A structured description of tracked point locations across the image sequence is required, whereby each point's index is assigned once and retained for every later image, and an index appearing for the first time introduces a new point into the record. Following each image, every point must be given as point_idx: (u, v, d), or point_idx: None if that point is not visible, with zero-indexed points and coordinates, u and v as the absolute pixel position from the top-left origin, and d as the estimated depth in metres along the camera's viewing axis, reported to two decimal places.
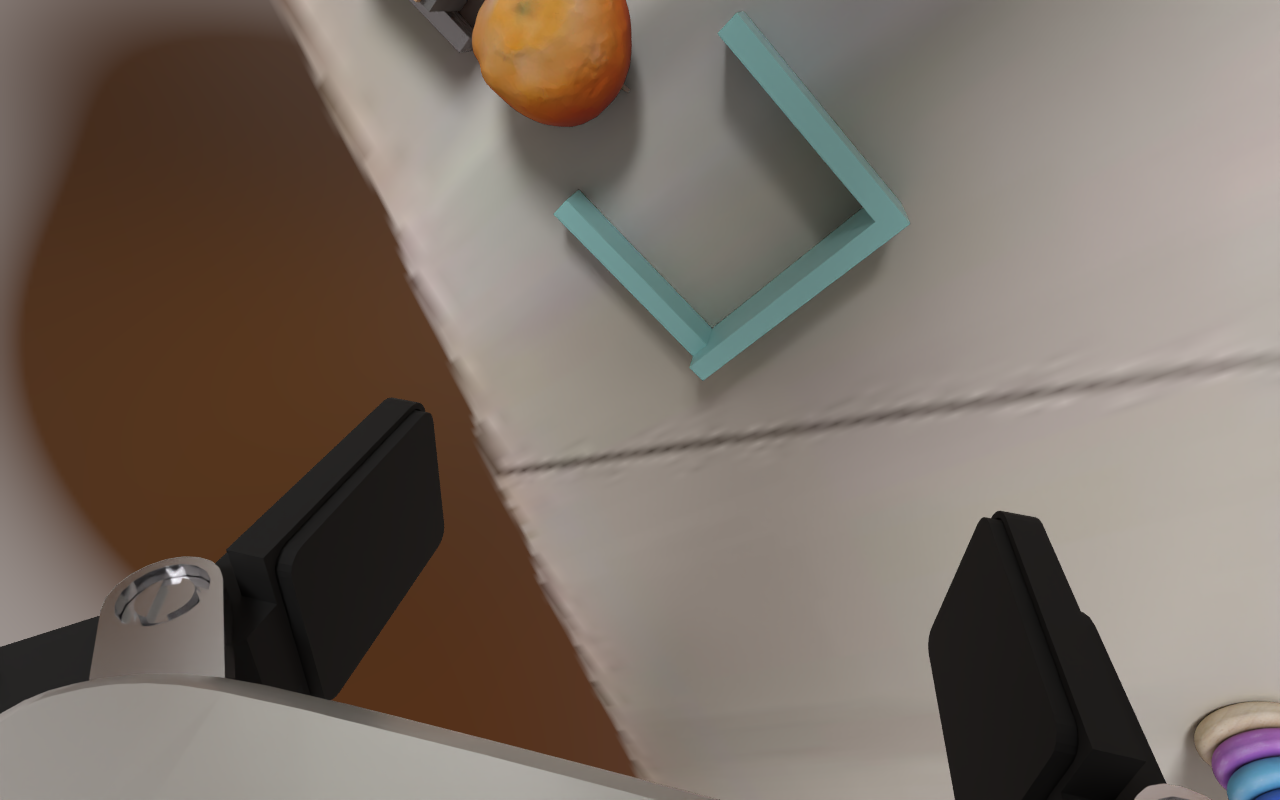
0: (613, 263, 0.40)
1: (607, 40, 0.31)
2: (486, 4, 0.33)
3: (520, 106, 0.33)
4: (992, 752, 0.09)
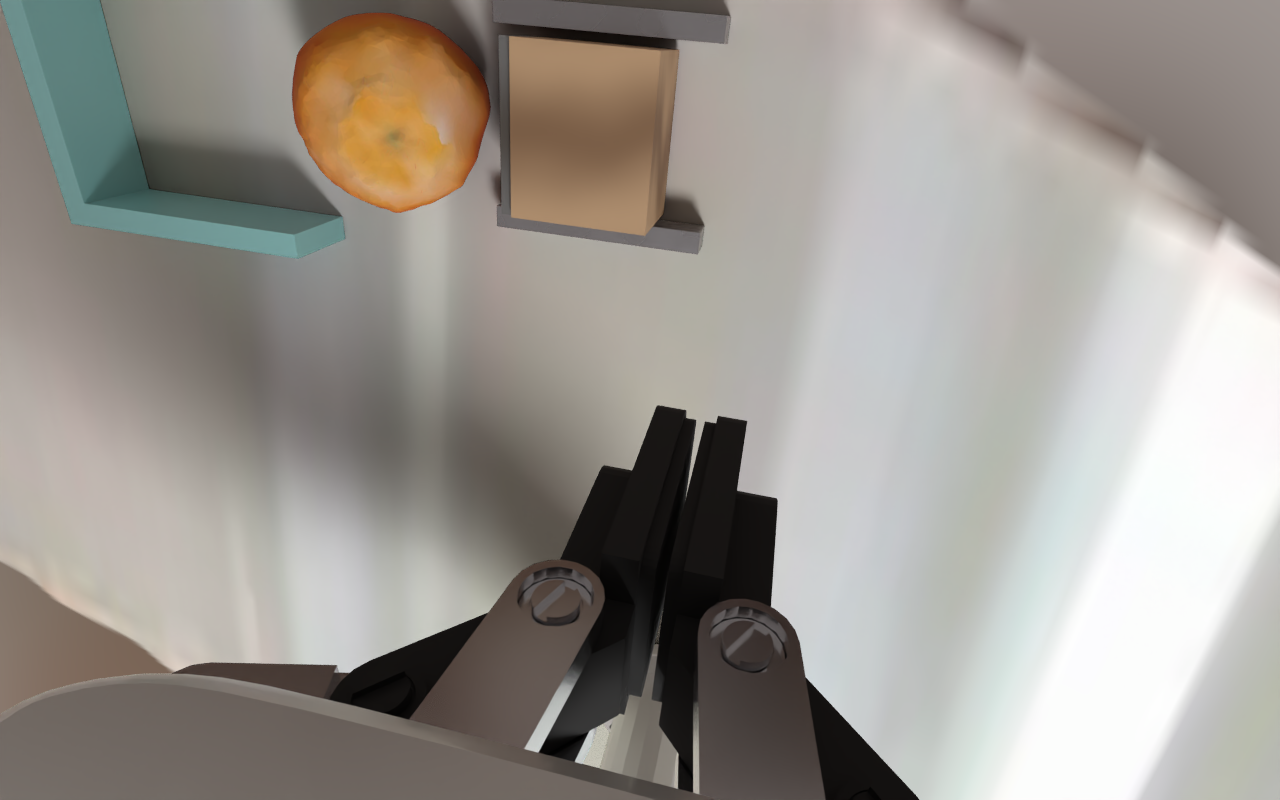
0: None
1: (323, 171, 0.29)
2: (446, 100, 0.28)
3: (324, 40, 0.26)
4: None
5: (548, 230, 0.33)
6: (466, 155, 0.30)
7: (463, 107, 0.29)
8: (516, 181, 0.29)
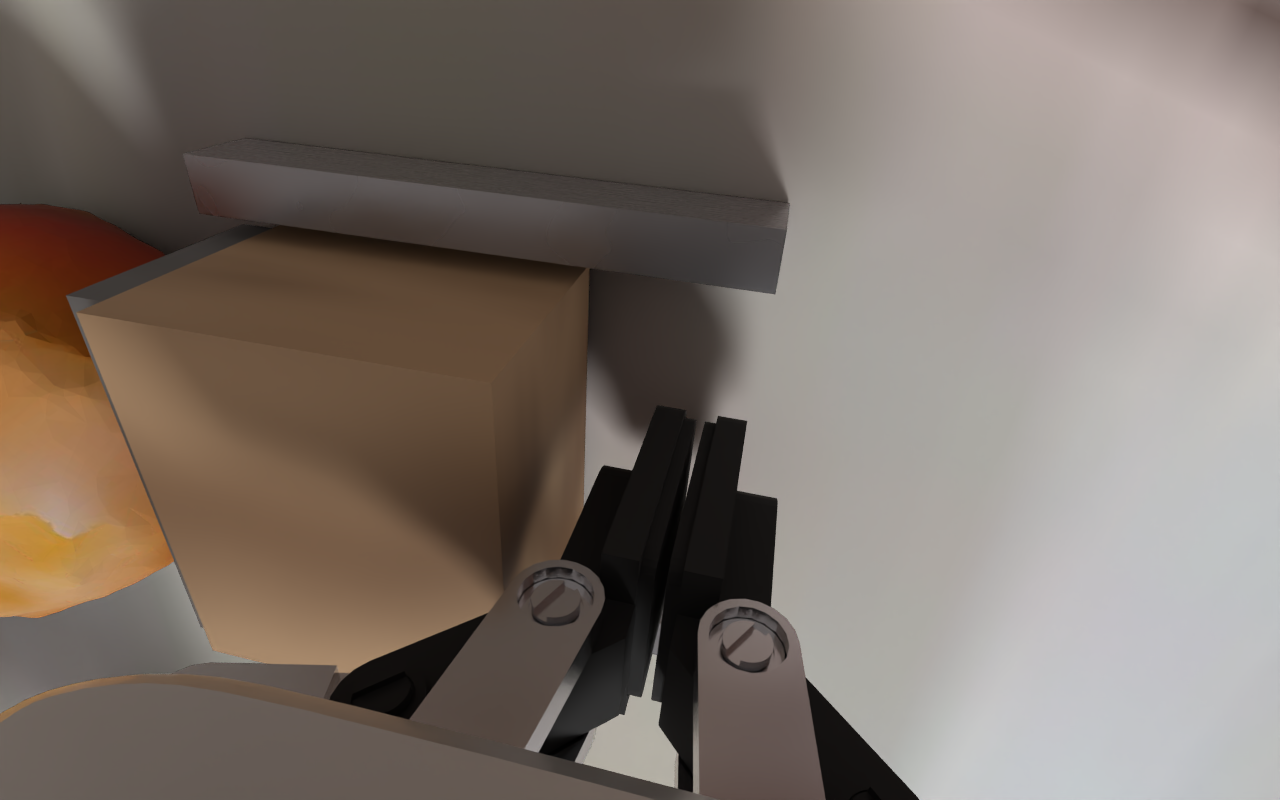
0: None
1: None
2: (54, 448, 0.11)
3: None
4: None
5: None
6: None
7: (121, 441, 0.11)
8: (202, 595, 0.12)
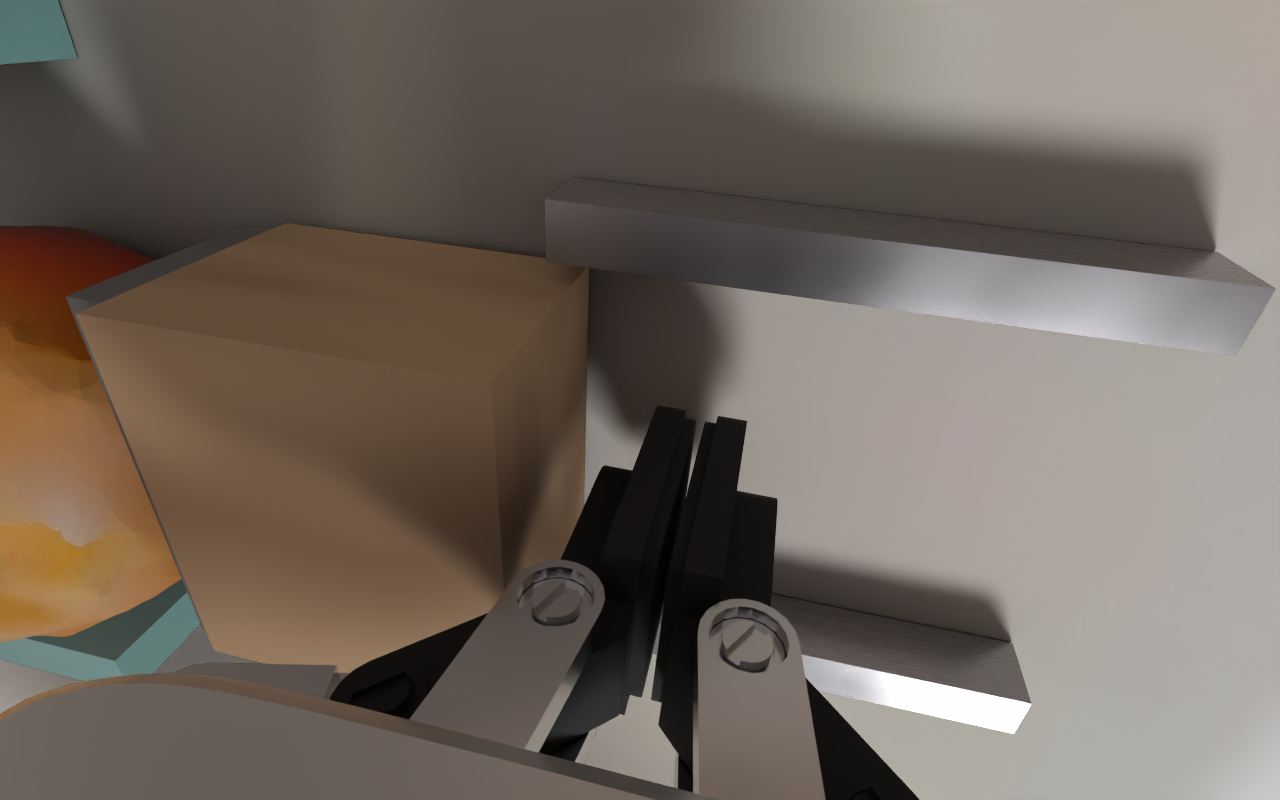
0: None
1: None
2: (56, 454, 0.11)
3: None
4: None
5: None
6: None
7: (123, 444, 0.11)
8: (203, 596, 0.12)
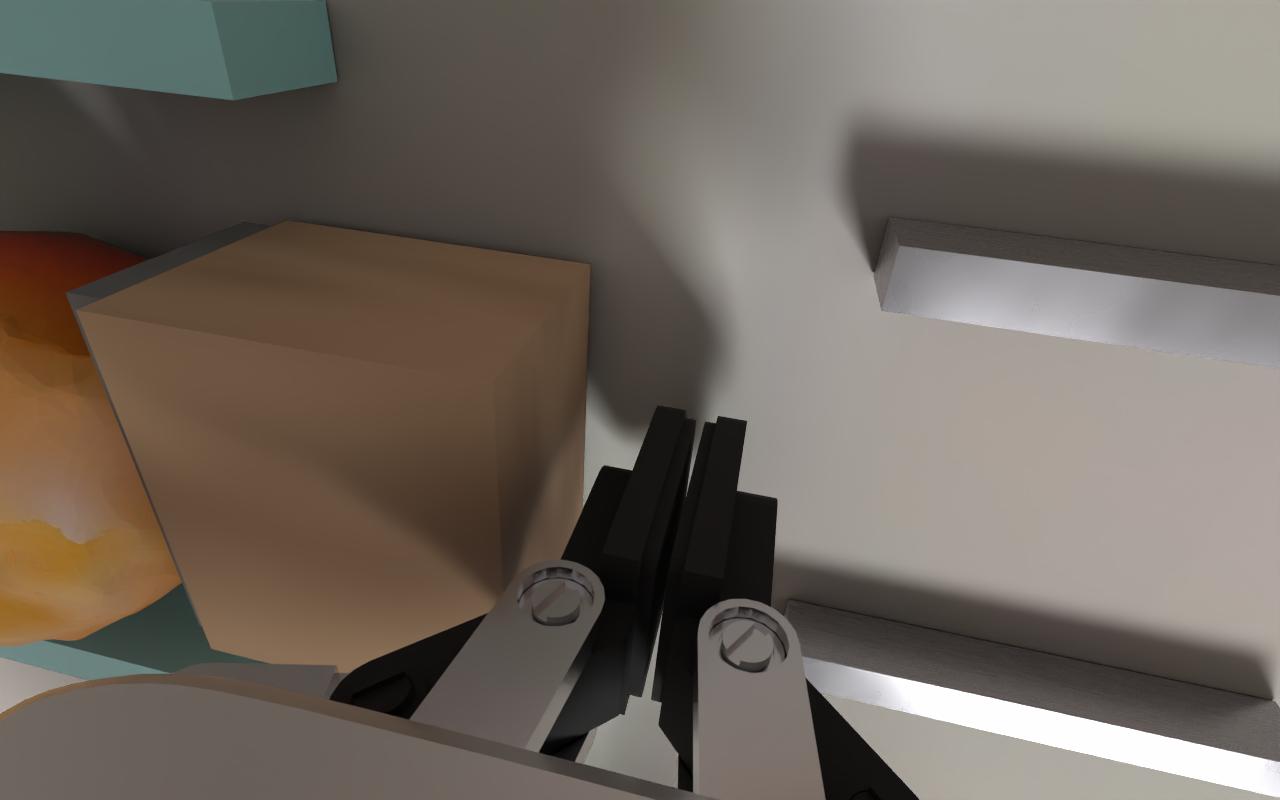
0: None
1: None
2: (52, 449, 0.11)
3: None
4: None
5: (904, 707, 0.14)
6: None
7: (121, 439, 0.11)
8: (201, 594, 0.12)
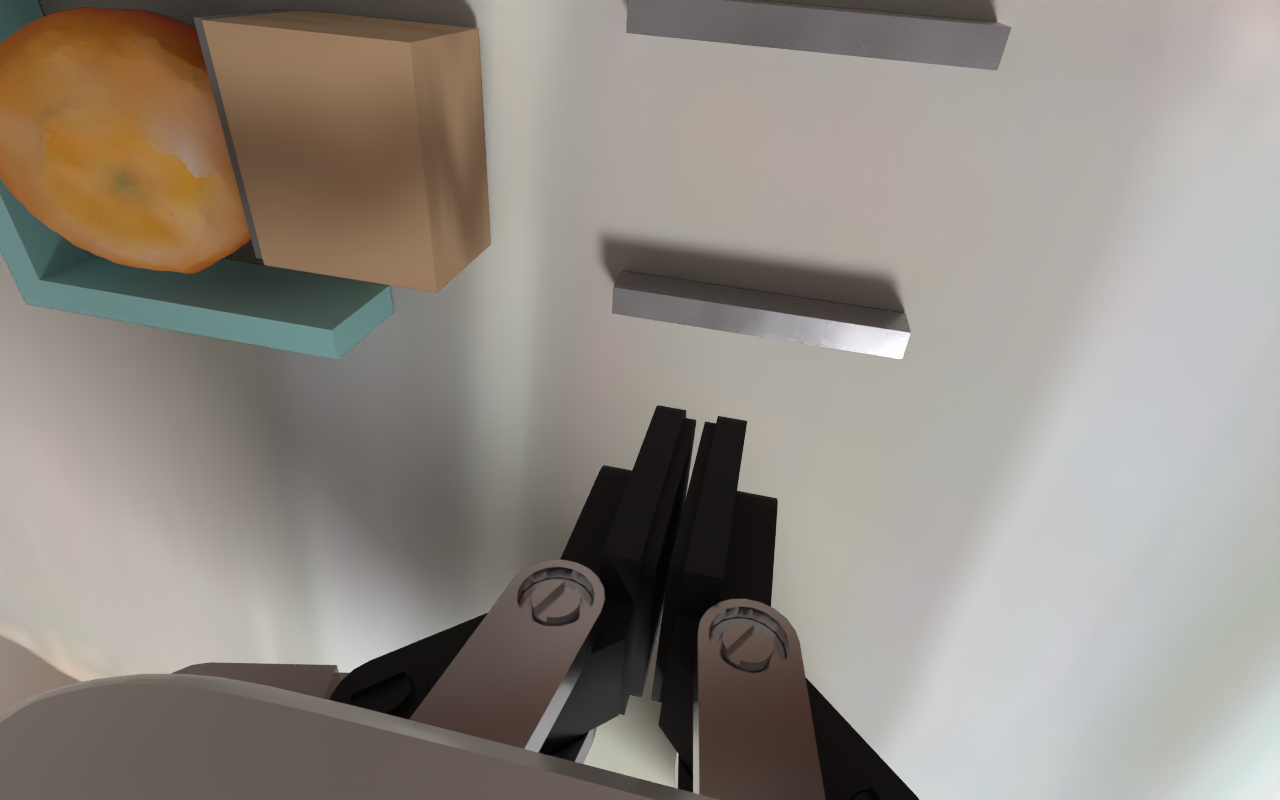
0: None
1: (68, 240, 0.22)
2: (183, 116, 0.20)
3: None
4: None
5: (685, 321, 0.24)
6: None
7: (216, 120, 0.20)
8: (260, 219, 0.21)
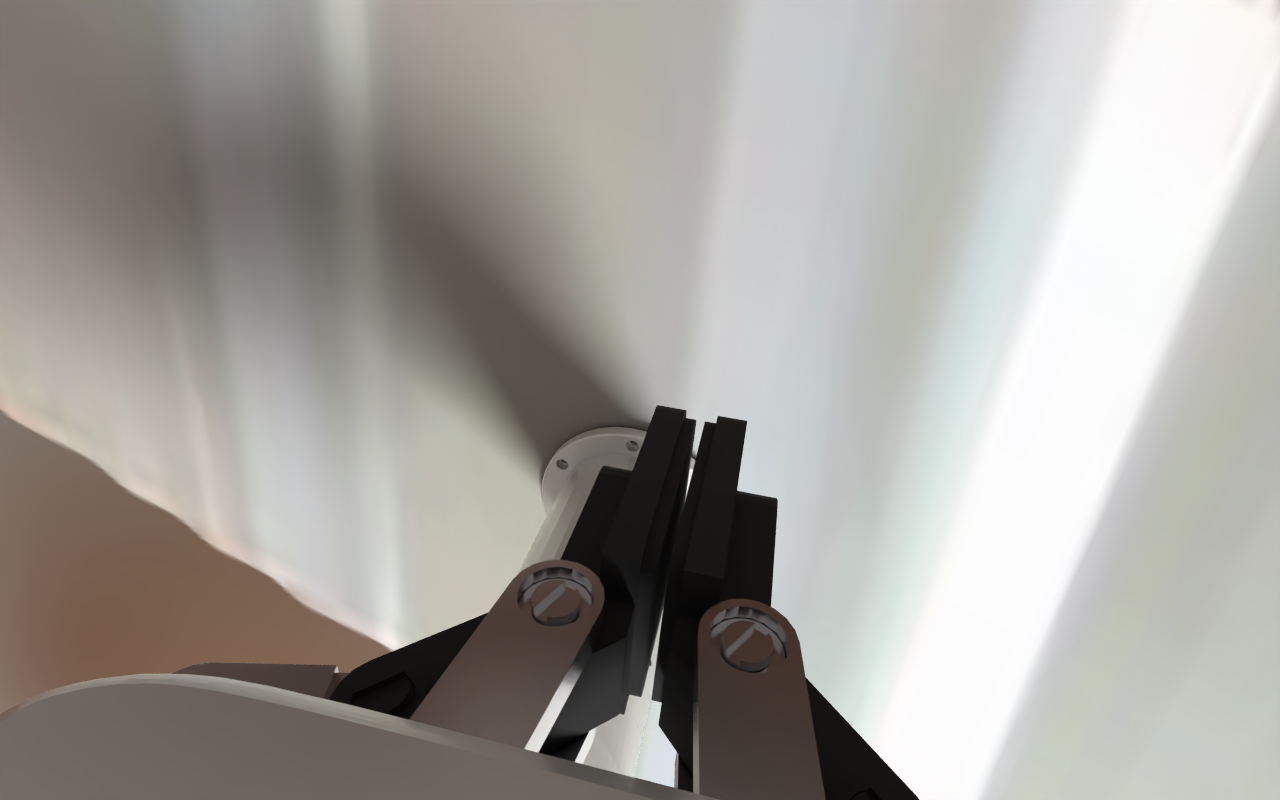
0: None
1: None
2: None
3: None
4: None
5: None
6: None
7: None
8: None
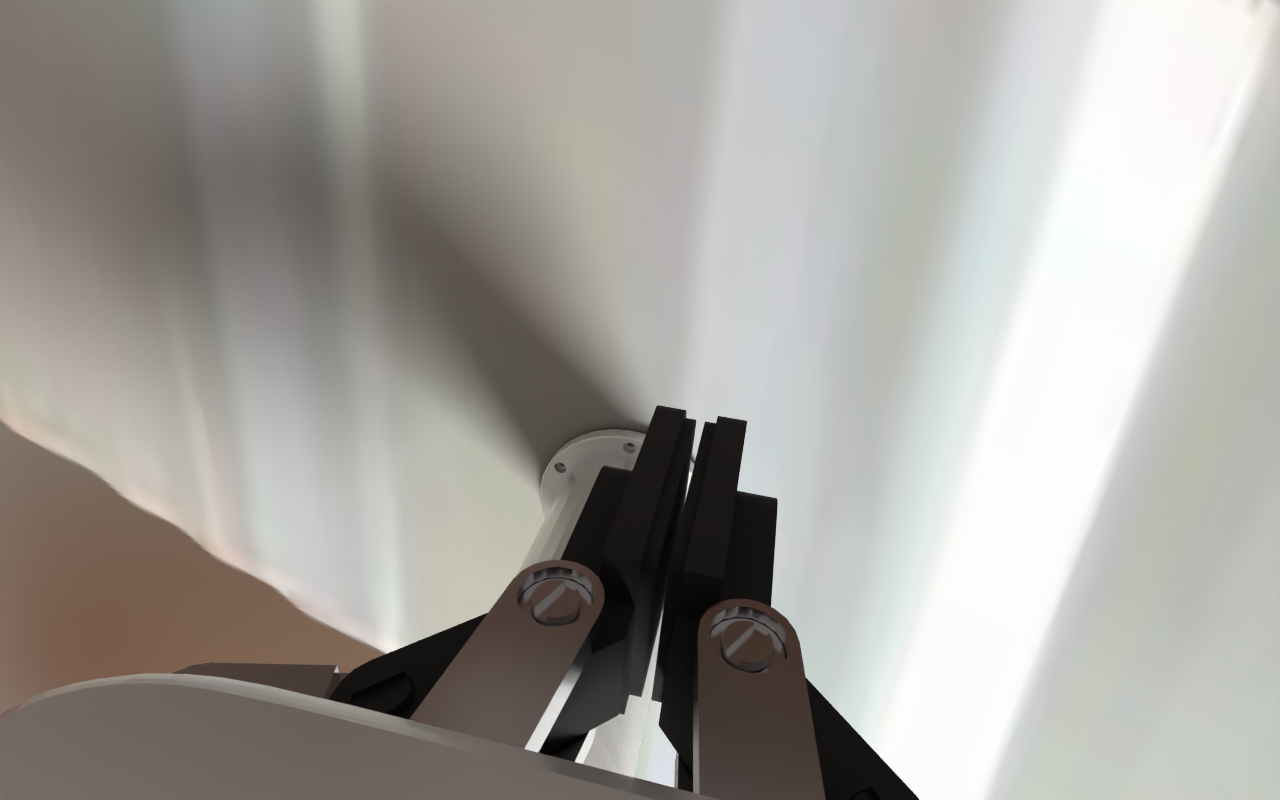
0: None
1: None
2: None
3: None
4: None
5: None
6: None
7: None
8: None
